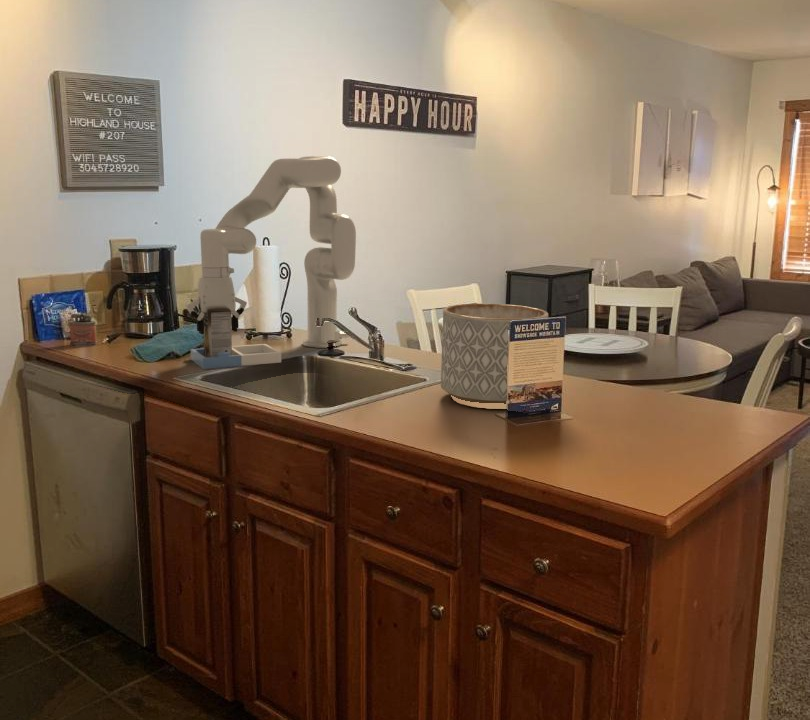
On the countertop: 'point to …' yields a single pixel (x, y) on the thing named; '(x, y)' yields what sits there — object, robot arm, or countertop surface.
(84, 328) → the lighter
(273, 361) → the blue and white tray
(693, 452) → the countertop surface
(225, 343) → the coffee box
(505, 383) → the planter
